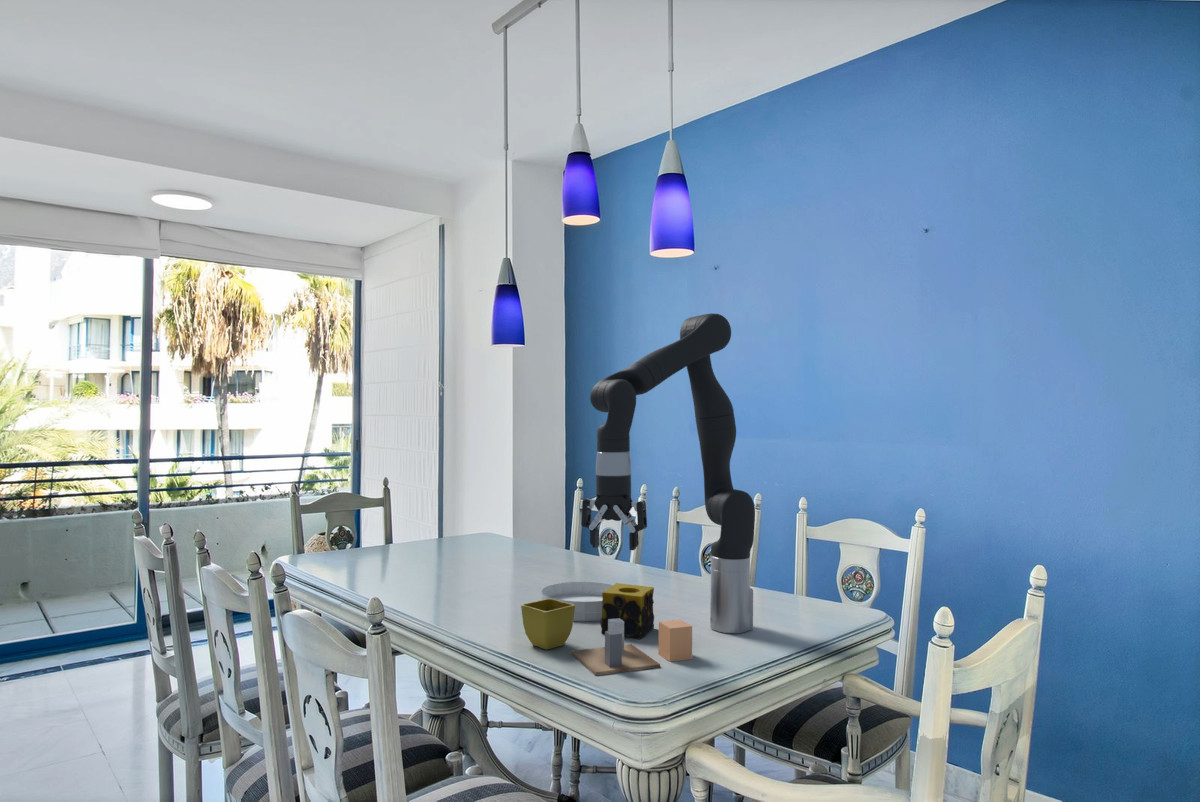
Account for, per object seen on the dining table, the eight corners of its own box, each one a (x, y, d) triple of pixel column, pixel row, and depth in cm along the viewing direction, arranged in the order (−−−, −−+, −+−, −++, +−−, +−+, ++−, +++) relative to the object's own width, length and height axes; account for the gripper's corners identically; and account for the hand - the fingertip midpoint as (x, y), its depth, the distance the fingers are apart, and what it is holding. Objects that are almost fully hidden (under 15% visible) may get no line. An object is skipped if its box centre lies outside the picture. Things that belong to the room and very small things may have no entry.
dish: (617, 625, 181) (617, 604, 181) (529, 618, 185) (529, 598, 185) (631, 602, 202) (631, 584, 203) (553, 597, 207) (553, 579, 207)
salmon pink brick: (680, 651, 160) (680, 619, 160) (691, 658, 155) (692, 626, 155) (658, 654, 158) (658, 621, 158) (669, 661, 153) (669, 628, 153)
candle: (615, 623, 181) (615, 582, 181) (654, 628, 177) (655, 586, 178) (599, 635, 172) (600, 591, 172) (641, 640, 168) (641, 595, 168)
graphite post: (616, 661, 151) (616, 630, 151) (621, 665, 149) (621, 633, 149) (604, 663, 150) (605, 631, 150) (609, 667, 148) (609, 634, 148)
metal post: (619, 648, 160) (619, 618, 160) (623, 651, 157) (624, 621, 158) (607, 649, 159) (608, 619, 159) (612, 653, 156) (612, 622, 157)
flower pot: (519, 645, 163) (519, 603, 163) (549, 637, 169) (550, 597, 169) (545, 654, 157) (545, 611, 157) (575, 646, 163) (576, 604, 163)
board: (631, 646, 163) (631, 644, 163) (660, 667, 150) (660, 664, 150) (571, 653, 158) (571, 650, 158) (595, 675, 145) (595, 672, 145)
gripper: (650, 472, 160) (651, 547, 160) (590, 470, 166) (590, 543, 166) (638, 475, 153) (639, 554, 153) (576, 473, 159) (576, 549, 159)
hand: (614, 548), depth 159 cm, fingers open, 8 cm apart
